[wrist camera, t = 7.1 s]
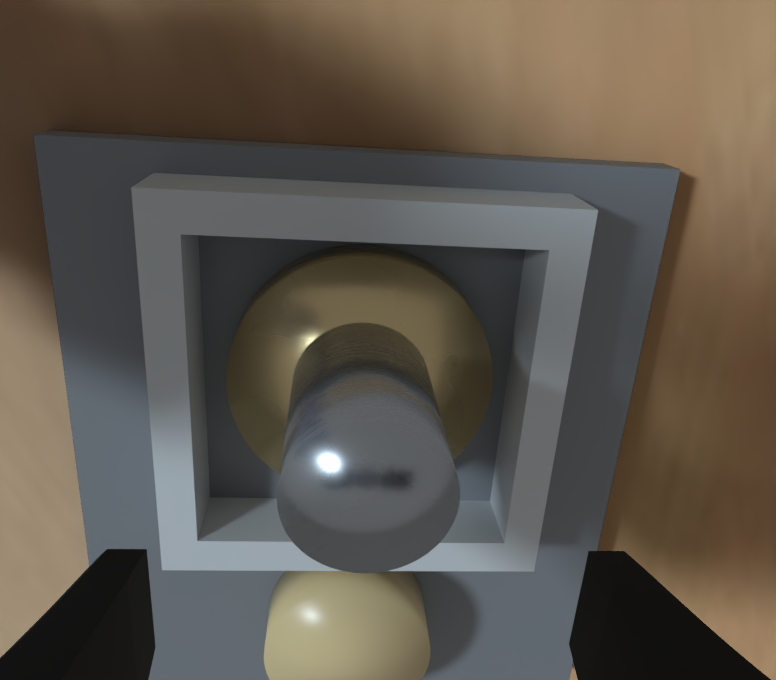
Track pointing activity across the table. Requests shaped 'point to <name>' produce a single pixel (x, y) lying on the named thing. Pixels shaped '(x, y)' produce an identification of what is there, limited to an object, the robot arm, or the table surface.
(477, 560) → the carrier
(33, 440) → the table surface
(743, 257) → the table surface
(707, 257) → the table surface
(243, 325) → the flanged metal cylinder
